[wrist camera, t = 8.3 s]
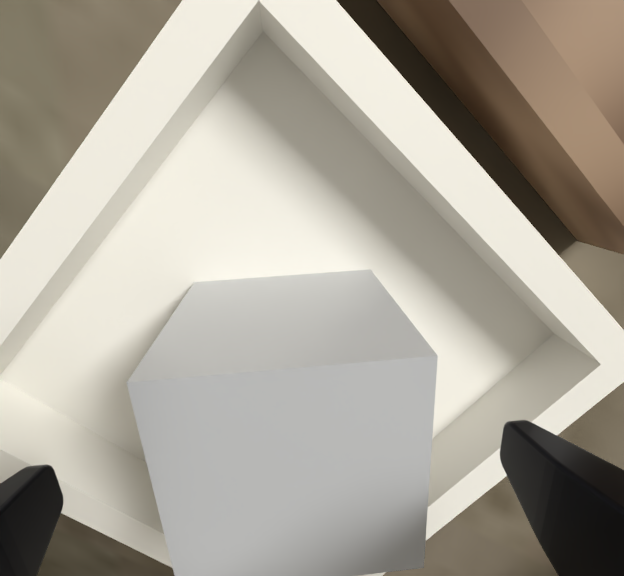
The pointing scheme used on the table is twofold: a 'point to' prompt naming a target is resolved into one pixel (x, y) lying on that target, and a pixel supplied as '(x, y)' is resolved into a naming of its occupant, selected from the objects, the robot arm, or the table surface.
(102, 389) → the cream tray
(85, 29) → the table surface
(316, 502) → the stone block
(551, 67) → the walnut tray
